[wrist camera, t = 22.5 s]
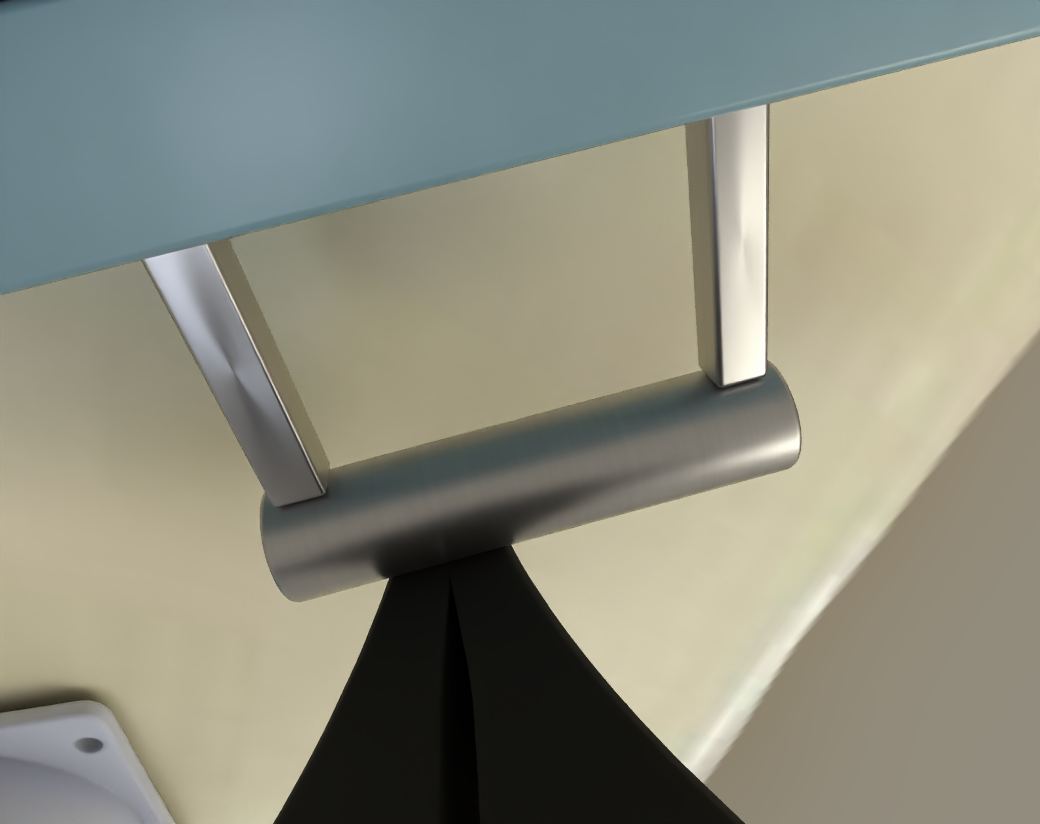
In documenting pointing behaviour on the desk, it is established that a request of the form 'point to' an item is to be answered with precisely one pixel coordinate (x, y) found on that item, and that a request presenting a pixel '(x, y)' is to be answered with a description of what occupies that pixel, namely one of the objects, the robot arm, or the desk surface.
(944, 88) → the desk surface
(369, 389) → the desk surface
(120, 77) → the drawer
